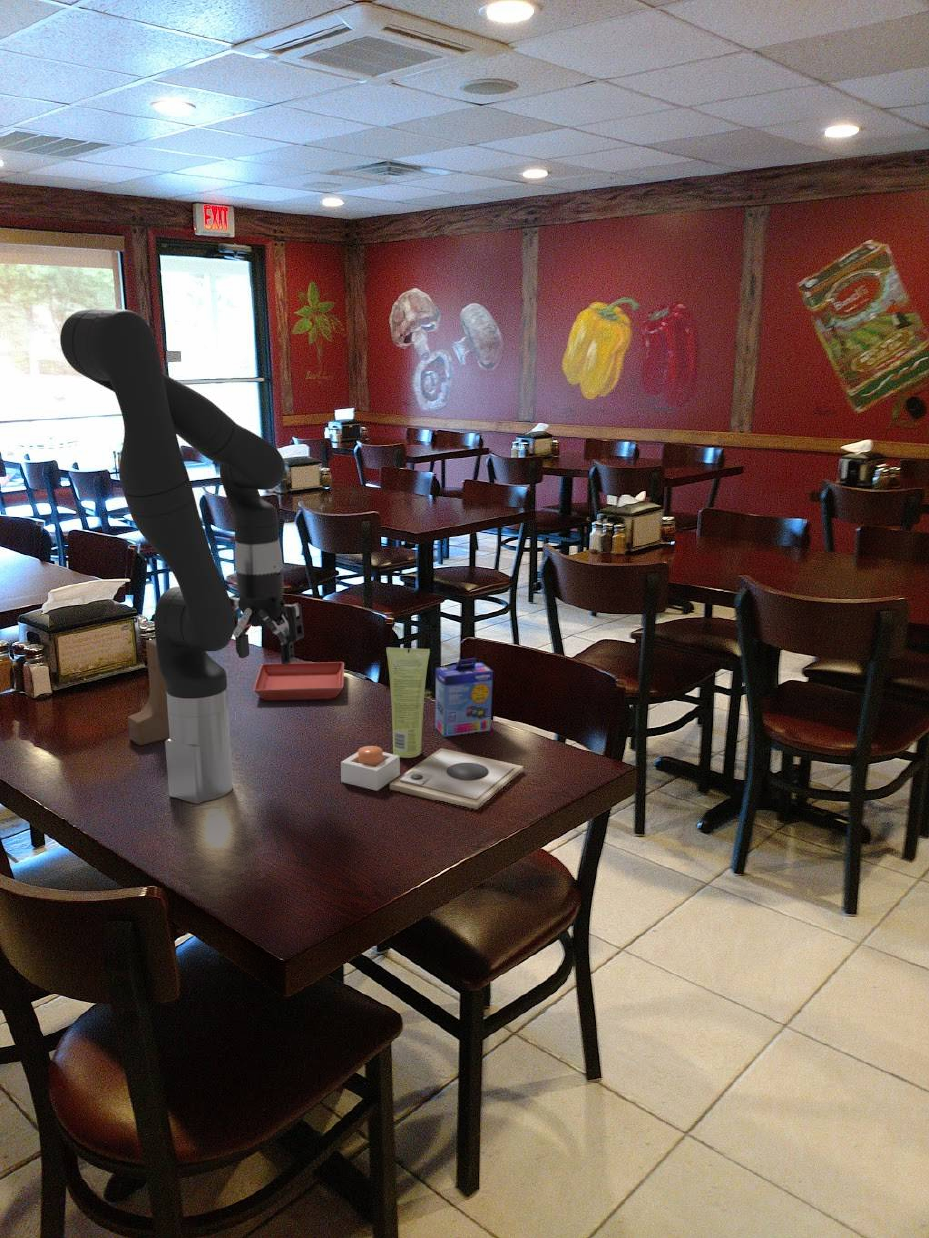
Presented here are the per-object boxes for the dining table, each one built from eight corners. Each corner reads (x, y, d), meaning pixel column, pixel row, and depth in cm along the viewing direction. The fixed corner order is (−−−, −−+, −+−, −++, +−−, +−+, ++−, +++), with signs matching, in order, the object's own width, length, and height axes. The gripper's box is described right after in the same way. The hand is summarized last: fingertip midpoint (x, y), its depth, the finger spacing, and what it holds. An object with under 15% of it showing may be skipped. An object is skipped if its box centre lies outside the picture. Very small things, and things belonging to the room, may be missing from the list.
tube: (412, 745, 176) (412, 641, 171) (429, 753, 172) (430, 648, 167) (387, 752, 172) (386, 647, 167) (403, 761, 169) (403, 654, 164)
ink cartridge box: (444, 738, 179) (444, 663, 175) (433, 728, 184) (433, 655, 180) (493, 731, 183) (494, 657, 179) (480, 721, 188) (482, 649, 184)
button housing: (376, 790, 157) (376, 770, 156) (341, 781, 160) (340, 762, 160) (399, 775, 163) (399, 755, 162) (364, 766, 166) (364, 747, 166)
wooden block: (139, 746, 174) (131, 650, 169) (128, 739, 177) (120, 644, 172) (186, 734, 180) (179, 641, 175) (175, 727, 183) (168, 635, 178)
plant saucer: (261, 677, 213) (261, 662, 212) (344, 675, 215) (344, 660, 214) (253, 705, 196) (252, 689, 195) (343, 703, 198) (343, 687, 197)
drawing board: (477, 811, 151) (477, 802, 150) (389, 789, 158) (389, 780, 157) (523, 771, 165) (523, 763, 165) (441, 753, 172) (441, 745, 172)
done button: (374, 776, 159) (373, 757, 158) (353, 771, 161) (353, 752, 160) (387, 768, 162) (387, 748, 161) (367, 763, 164) (366, 744, 163)
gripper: (209, 568, 158) (217, 661, 163) (283, 576, 153) (289, 673, 158) (236, 557, 165) (243, 648, 170) (308, 565, 160) (313, 658, 165)
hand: (265, 660), depth 164 cm, fingers open, 8 cm apart
